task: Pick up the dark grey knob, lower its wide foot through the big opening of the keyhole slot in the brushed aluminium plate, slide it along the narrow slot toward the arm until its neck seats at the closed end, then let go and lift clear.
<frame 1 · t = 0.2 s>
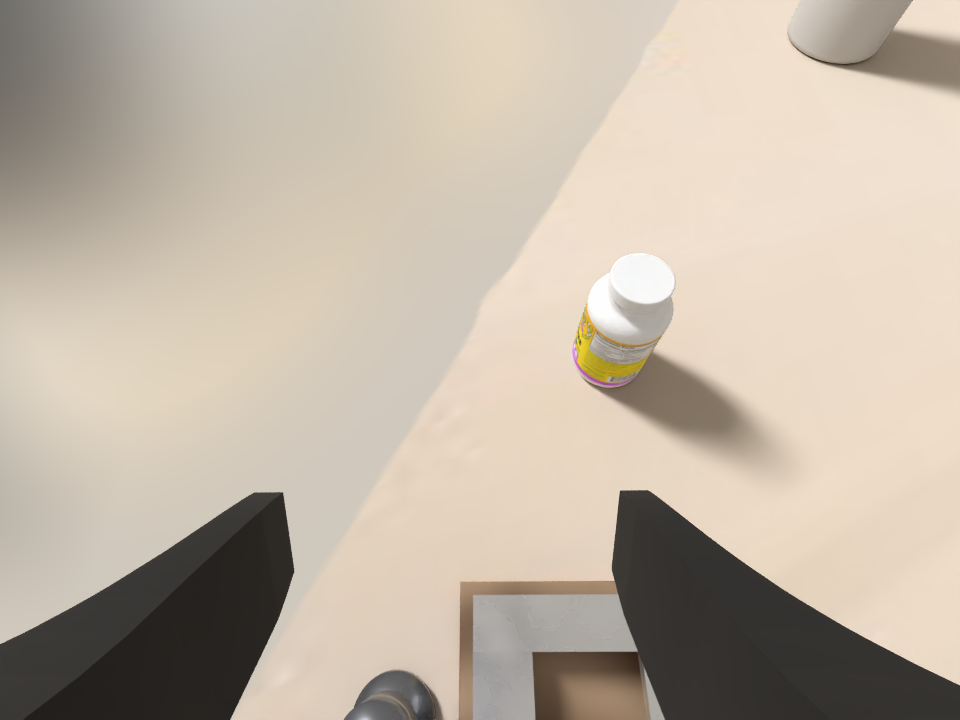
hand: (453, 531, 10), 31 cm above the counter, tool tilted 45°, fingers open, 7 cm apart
cylinder vase: (828, 42, 71), on the counter
dark grey knob: (394, 717, 34), on the counter
supplement bottle: (604, 360, 47), on the counter
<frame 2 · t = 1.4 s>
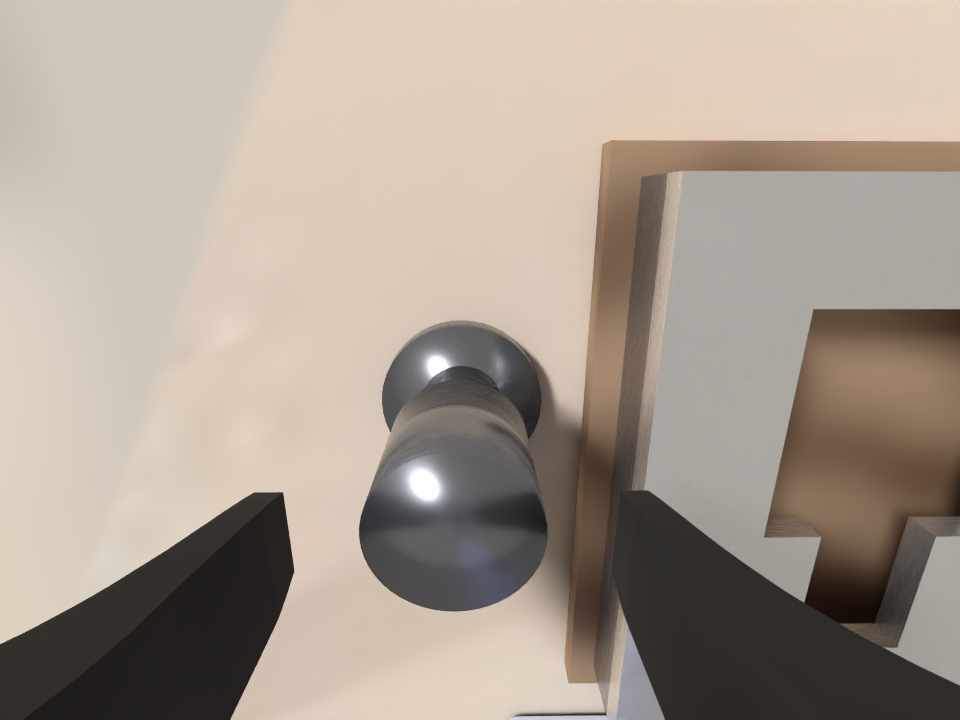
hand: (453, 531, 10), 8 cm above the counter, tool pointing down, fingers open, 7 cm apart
dark grey knob: (462, 394, 18), on the counter
keyhole board: (796, 465, 19), on the counter
keyhole plate: (848, 485, 16), on the keyhole board, point 2 cm above the counter
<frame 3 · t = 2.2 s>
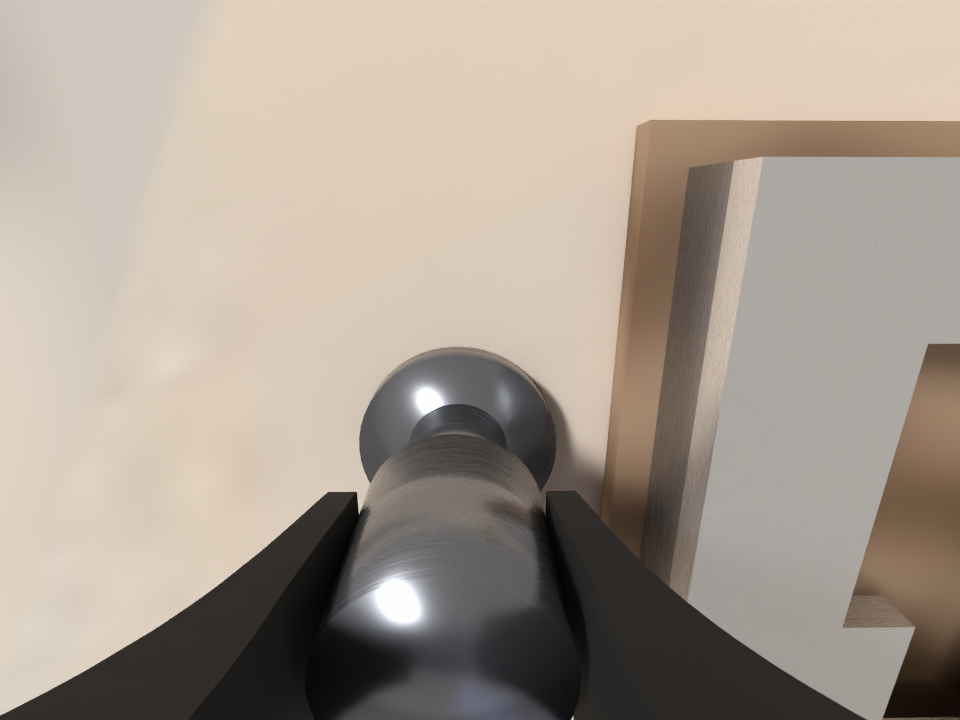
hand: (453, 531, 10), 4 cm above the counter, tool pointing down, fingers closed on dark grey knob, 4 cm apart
dark grey knob: (458, 436, 15), on the counter, touching gripper
keyhole board: (862, 518, 16), on the counter
keyhole plate: (940, 554, 13), on the keyhole board, point 2 cm above the counter
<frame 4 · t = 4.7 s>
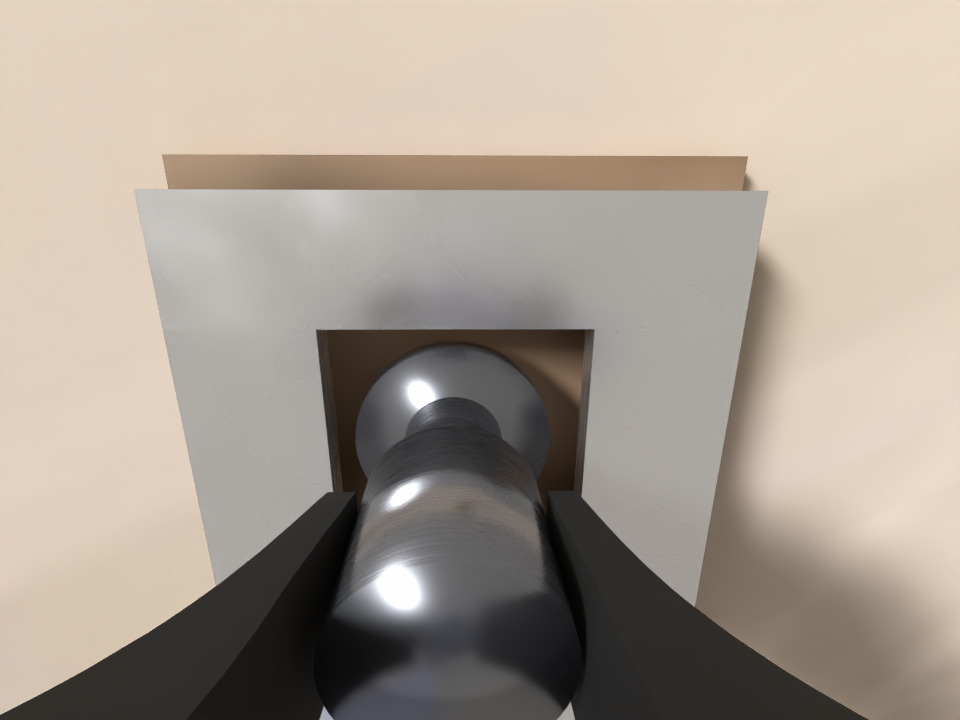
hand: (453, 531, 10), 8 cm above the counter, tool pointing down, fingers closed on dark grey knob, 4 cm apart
dark grey knob: (453, 429, 15), point 3 cm above the counter, touching gripper
keyhole board: (461, 481, 19), on the counter
keyhole plate: (459, 504, 16), on the keyhole board, point 2 cm above the counter
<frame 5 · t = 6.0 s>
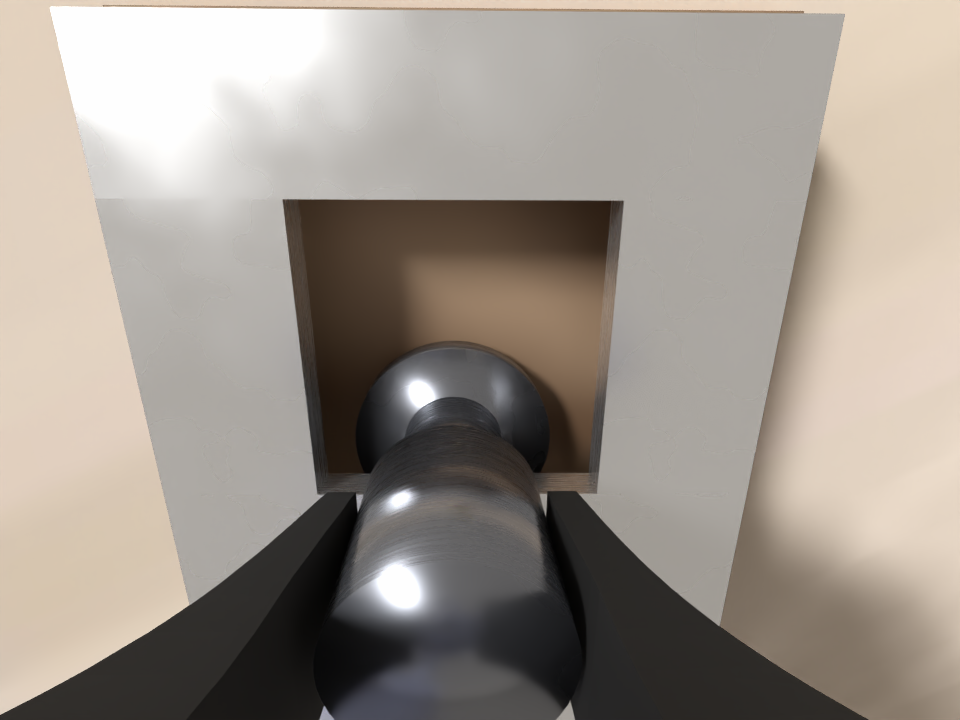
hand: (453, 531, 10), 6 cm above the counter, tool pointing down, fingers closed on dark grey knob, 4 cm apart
dark grey knob: (453, 428, 15), point 1 cm above the counter, touching gripper
keyhole board: (461, 421, 16), on the counter
keyhole plate: (459, 436, 14), on the keyhole board, point 2 cm above the counter
when the fingers open (6 cm above the counter, at t = 7.1 s): dark grey knob stays where it is, resting on keyhole board.
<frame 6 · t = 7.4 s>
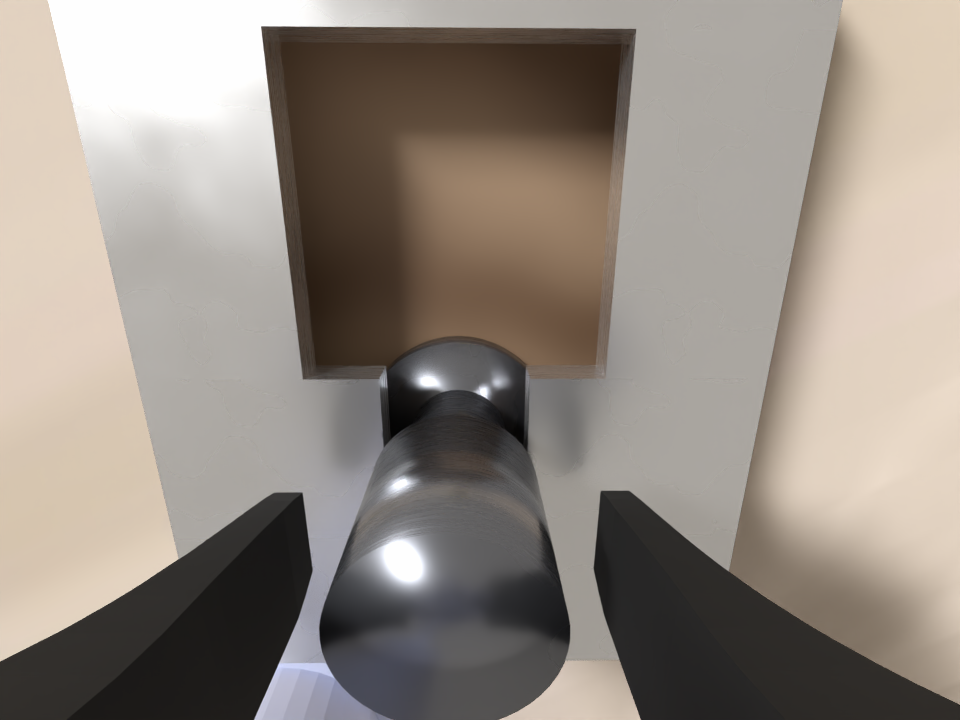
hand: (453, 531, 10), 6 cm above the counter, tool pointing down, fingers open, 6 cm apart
dark grey knob: (459, 421, 15), point 1 cm above the counter, touching keyhole board
keyhole board: (459, 330, 15), on the counter
keyhole plate: (456, 328, 13), on the keyhole board, point 2 cm above the counter
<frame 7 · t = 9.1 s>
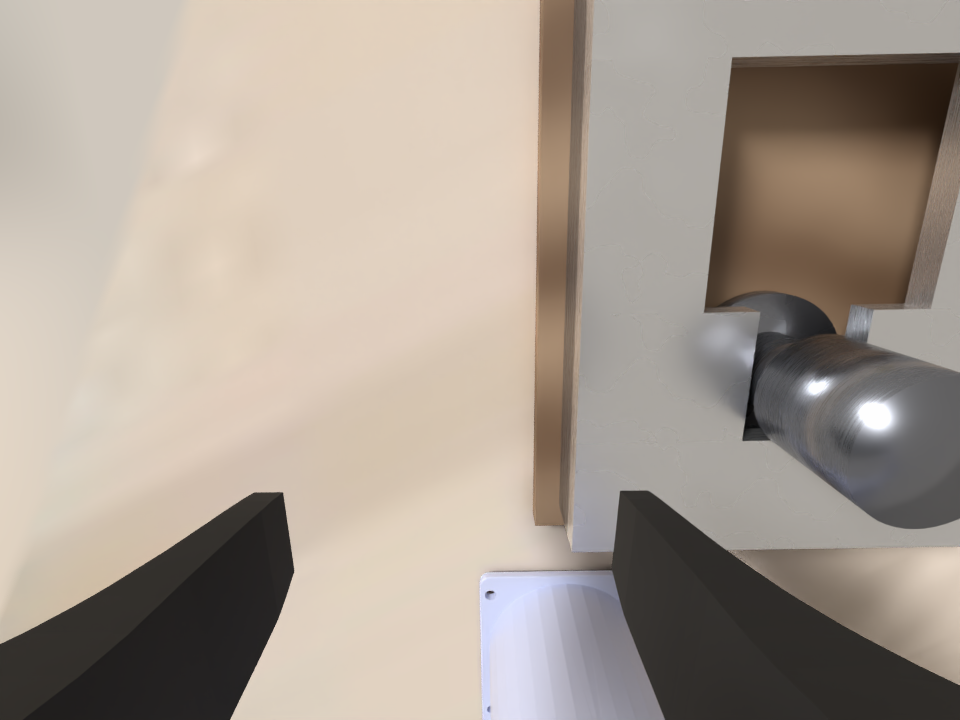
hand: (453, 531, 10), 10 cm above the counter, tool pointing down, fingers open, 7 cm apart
dark grey knob: (753, 361, 19), point 1 cm above the counter, touching keyhole board
keyhole board: (749, 289, 19), on the counter
keyhole plate: (791, 278, 17), on the keyhole board, point 2 cm above the counter
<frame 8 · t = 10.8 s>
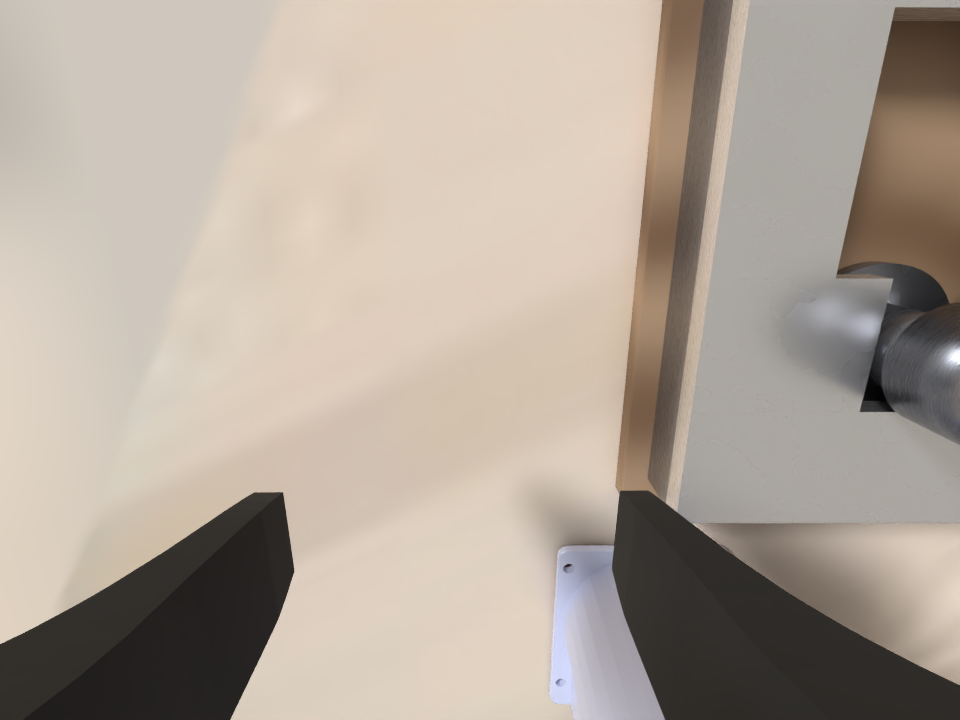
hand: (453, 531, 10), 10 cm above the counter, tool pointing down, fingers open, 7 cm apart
dark grey knob: (857, 334, 19), point 1 cm above the counter, touching keyhole board
keyhole board: (855, 261, 19), on the counter
keyhole plate: (915, 246, 16), on the keyhole board, point 2 cm above the counter
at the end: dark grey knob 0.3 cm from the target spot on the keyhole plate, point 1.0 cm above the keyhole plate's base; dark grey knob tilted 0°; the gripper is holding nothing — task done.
